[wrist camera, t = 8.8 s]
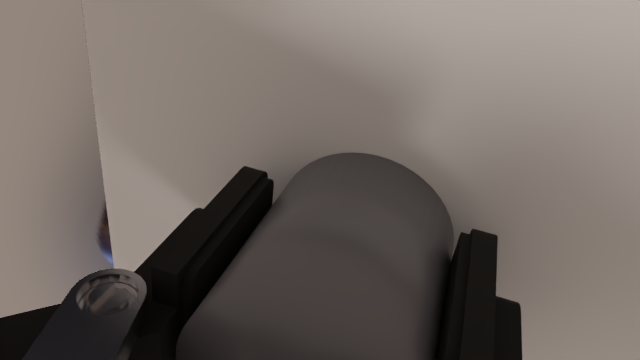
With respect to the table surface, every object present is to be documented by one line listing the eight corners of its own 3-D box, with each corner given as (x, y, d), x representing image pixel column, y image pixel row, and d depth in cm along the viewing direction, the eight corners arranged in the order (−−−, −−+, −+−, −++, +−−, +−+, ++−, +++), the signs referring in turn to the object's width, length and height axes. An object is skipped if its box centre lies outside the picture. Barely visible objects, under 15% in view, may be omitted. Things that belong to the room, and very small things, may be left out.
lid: (911, -45, 8) (1525, 70, 3) (562, 470, 16) (586, 732, 11) (93, -165, 11) (-239, -202, 6) (139, 321, 19) (10, 475, 14)
